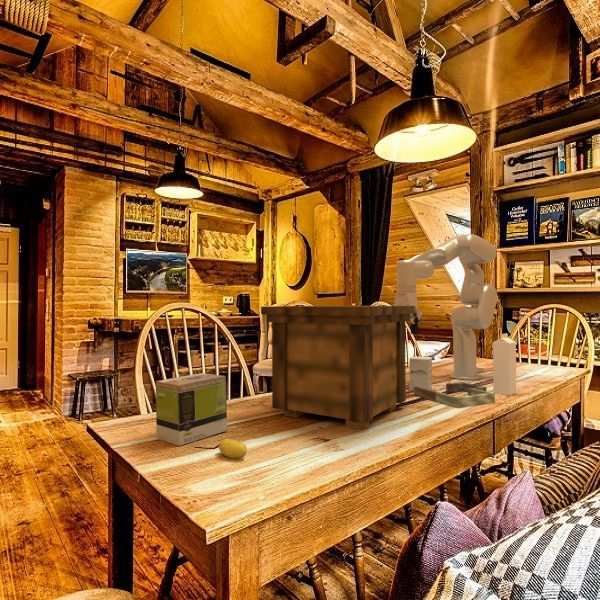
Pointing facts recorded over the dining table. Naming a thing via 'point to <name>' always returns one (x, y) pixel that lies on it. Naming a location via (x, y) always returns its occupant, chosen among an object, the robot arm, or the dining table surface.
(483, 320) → the robot arm
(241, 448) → the lemon
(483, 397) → the grey-green angular frame
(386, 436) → the dining table surface
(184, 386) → the tea box
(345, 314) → the crate
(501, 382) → the milk
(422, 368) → the supplement box
